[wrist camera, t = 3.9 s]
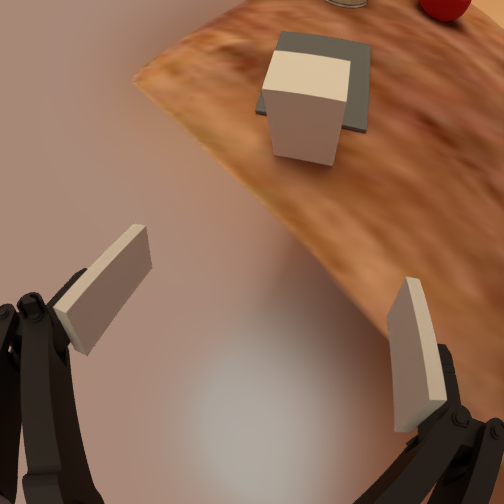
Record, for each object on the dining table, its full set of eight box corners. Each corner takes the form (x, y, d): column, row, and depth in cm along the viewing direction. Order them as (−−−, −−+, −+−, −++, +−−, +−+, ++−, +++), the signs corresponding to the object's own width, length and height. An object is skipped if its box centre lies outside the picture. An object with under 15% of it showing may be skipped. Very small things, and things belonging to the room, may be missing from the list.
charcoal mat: (281, 34, 43) (281, 31, 42) (369, 48, 40) (370, 45, 40) (256, 113, 41) (255, 110, 40) (365, 133, 38) (366, 130, 37)
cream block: (332, 166, 38) (346, 102, 24) (273, 155, 39) (261, 88, 25) (338, 128, 38) (350, 59, 25) (283, 118, 40) (275, 48, 26)
